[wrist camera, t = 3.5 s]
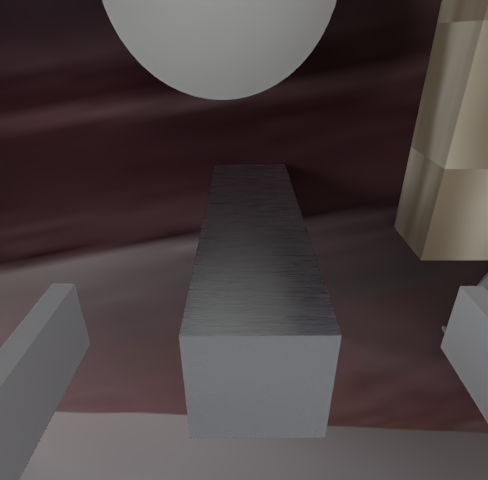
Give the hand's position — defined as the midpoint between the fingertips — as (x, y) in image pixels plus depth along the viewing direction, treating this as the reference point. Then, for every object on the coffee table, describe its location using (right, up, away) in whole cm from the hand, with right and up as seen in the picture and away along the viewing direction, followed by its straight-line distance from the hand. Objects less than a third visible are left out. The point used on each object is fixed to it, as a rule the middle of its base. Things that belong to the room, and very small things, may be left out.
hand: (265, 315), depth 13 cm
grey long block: (0, +5, +9) cm, 11 cm away
